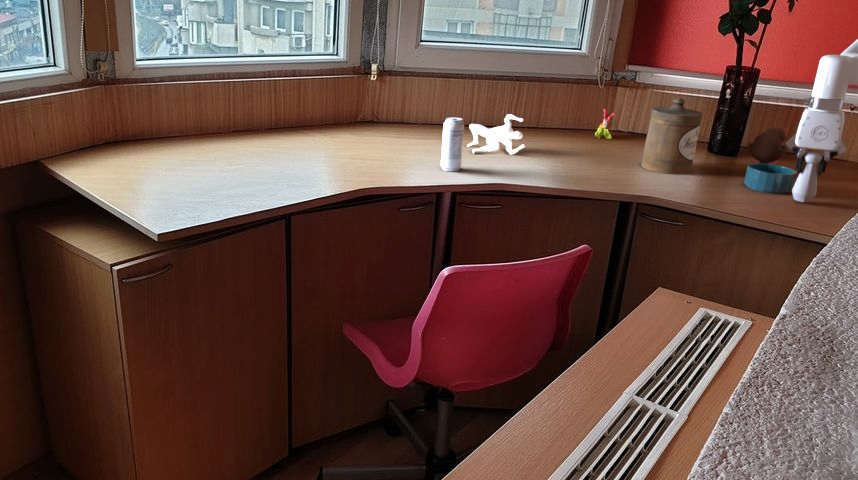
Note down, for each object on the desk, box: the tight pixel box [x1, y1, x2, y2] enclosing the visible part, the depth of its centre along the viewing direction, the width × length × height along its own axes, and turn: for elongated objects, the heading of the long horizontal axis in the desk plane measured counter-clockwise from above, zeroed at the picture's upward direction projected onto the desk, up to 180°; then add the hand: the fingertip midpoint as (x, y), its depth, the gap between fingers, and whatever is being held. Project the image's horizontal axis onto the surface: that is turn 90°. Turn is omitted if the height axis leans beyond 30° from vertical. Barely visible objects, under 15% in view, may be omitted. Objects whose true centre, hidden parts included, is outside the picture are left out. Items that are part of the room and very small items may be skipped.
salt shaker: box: [791, 151, 823, 203], centre depth 193 cm, size 6×6×13 cm
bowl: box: [743, 162, 798, 195], centre depth 207 cm, size 13×13×6 cm
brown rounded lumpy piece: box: [747, 126, 789, 164], centre depth 220 cm, size 11×11×15 cm
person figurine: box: [466, 113, 526, 156], centre depth 237 cm, size 13×13×18 cm
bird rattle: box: [594, 108, 616, 140], centre depth 264 cm, size 6×11×9 cm
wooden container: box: [640, 97, 703, 175], centre depth 222 cm, size 15×15×22 cm
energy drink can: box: [440, 116, 465, 172], centre depth 211 cm, size 6×6×15 cm
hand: (809, 172), depth 193 cm, fingers closed on salt shaker, 4 cm apart
